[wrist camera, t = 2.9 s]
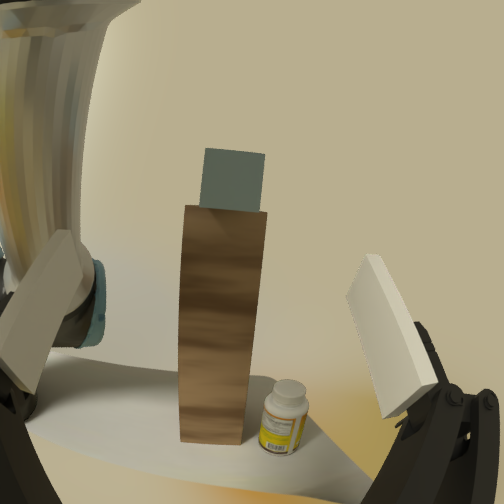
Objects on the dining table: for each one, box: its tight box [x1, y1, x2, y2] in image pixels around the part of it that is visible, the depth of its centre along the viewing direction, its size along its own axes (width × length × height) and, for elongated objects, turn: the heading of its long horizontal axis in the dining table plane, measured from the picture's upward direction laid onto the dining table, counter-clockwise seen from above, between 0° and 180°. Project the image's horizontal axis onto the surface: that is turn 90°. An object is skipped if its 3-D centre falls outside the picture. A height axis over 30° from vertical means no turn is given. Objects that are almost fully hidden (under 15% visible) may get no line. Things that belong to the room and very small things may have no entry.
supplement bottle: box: [259, 380, 309, 456], centre depth 33 cm, size 6×6×10 cm
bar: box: [199, 148, 265, 213], centre depth 30 cm, size 22×4×4 cm, turn 6°
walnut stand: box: [178, 205, 267, 445], centre depth 35 cm, size 10×8×30 cm
